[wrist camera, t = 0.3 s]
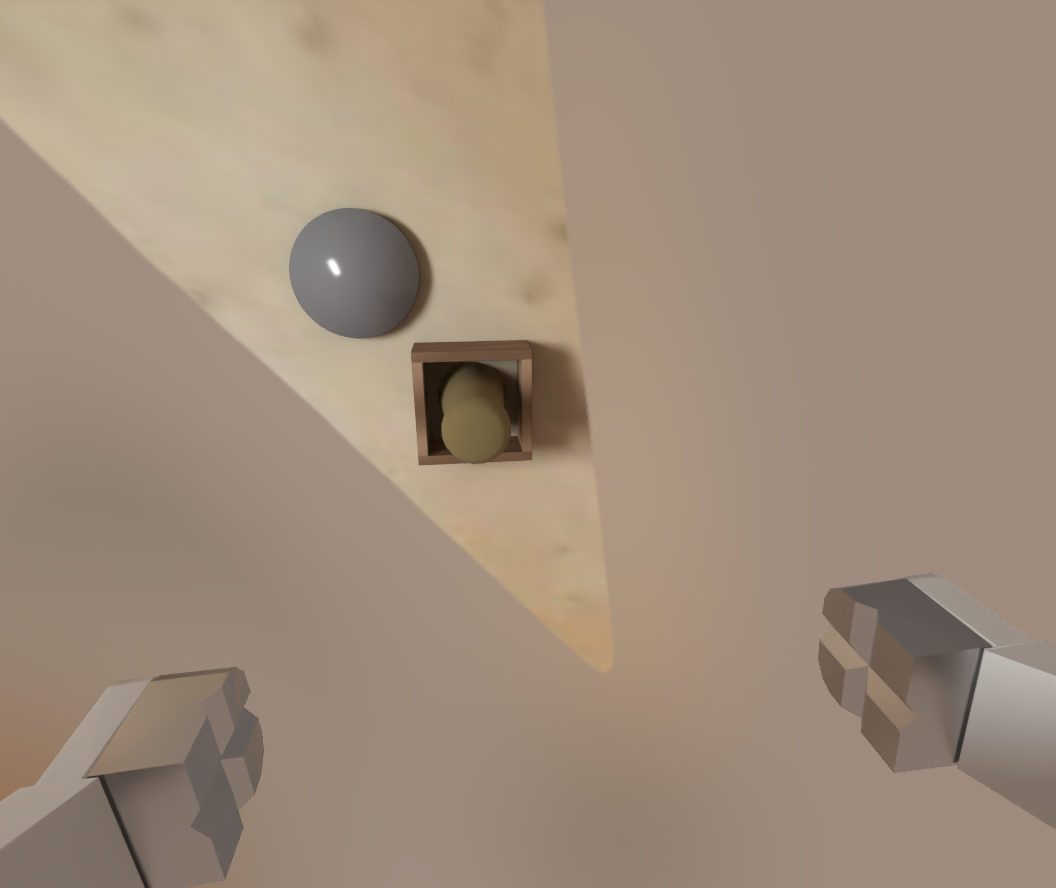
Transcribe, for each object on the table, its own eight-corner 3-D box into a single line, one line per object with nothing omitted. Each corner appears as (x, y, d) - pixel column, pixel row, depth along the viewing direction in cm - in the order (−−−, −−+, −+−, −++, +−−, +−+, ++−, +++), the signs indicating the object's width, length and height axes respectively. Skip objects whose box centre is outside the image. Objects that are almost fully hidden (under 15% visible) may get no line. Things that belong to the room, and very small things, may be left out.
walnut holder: (414, 343, 52) (410, 352, 49) (526, 340, 53) (531, 349, 50) (421, 448, 56) (418, 465, 52) (526, 444, 57) (531, 460, 53)
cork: (510, 366, 54) (524, 401, 44) (501, 430, 56) (513, 478, 46) (441, 358, 53) (439, 392, 43) (435, 424, 55) (431, 472, 45)
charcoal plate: (284, 208, 48) (280, 208, 47) (415, 208, 49) (414, 208, 48) (301, 337, 51) (298, 339, 50) (422, 334, 52) (422, 336, 51)
